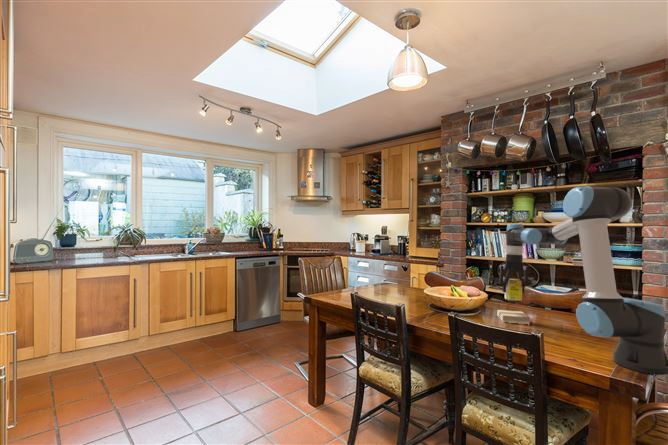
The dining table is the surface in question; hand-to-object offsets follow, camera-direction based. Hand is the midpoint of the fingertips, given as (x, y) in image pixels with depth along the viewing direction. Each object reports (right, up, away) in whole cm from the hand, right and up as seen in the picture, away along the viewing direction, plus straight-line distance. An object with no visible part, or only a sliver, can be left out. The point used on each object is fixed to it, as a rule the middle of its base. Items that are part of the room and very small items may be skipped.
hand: (513, 299), depth 175 cm
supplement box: (0, -1, 0) cm, 1 cm away
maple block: (0, -11, 0) cm, 11 cm away
